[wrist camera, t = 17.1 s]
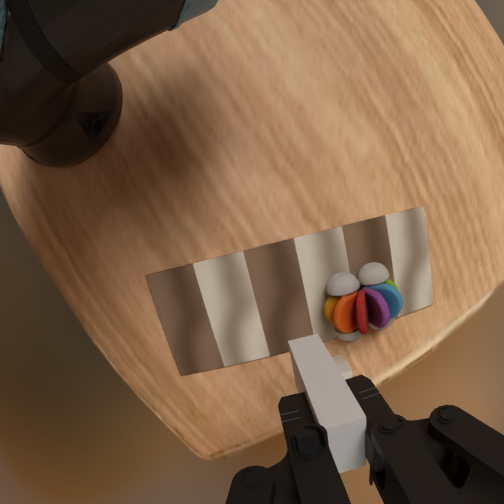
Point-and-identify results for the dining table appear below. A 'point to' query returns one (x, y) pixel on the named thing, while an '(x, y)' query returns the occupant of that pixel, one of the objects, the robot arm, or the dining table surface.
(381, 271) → the rainbow segmented toy
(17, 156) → the dining table surface
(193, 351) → the striped mat
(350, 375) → the cube
